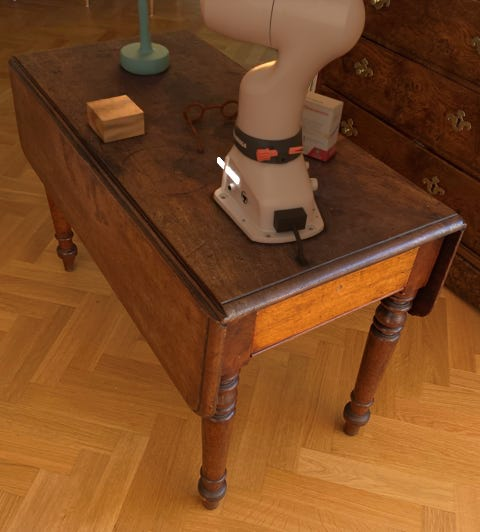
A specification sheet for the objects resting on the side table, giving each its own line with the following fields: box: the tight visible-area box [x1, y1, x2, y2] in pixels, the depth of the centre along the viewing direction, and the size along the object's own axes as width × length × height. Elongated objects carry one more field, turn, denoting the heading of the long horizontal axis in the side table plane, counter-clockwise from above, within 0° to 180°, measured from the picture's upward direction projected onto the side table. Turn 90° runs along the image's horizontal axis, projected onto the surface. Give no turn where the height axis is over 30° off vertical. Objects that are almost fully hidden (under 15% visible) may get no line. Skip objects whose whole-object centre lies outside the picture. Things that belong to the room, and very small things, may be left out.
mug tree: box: [119, 0, 171, 76], centre depth 147 cm, size 12×12×25 cm
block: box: [85, 94, 145, 144], centre depth 128 cm, size 9×9×5 cm
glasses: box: [182, 99, 239, 153], centre depth 129 cm, size 13×13×5 cm
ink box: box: [301, 90, 344, 162], centre depth 124 cm, size 9×5×12 cm, turn 56°
